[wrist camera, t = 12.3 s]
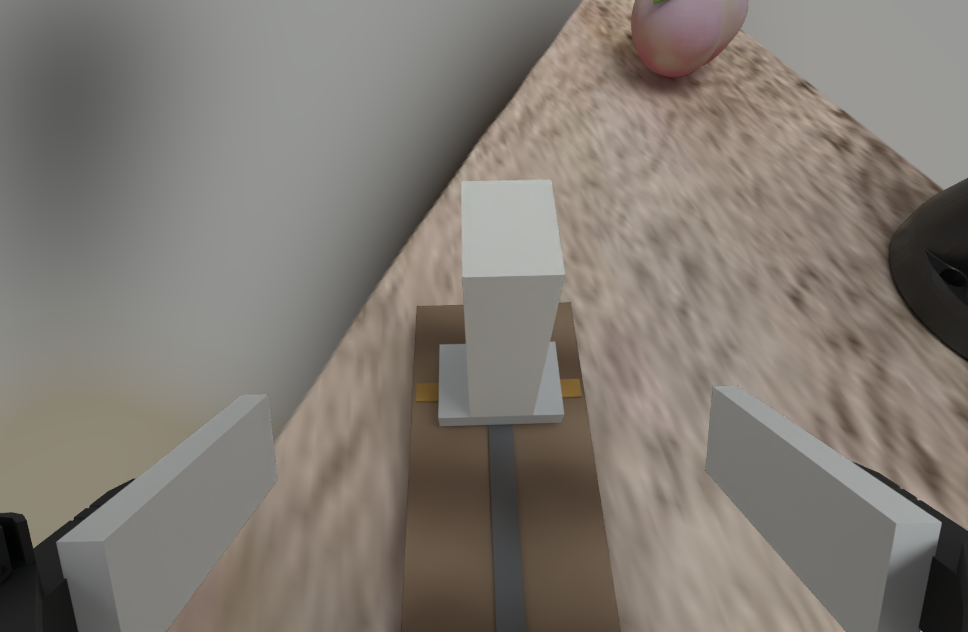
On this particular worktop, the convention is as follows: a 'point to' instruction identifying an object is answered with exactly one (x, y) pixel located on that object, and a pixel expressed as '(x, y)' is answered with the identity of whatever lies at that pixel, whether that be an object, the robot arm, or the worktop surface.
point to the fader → (506, 309)
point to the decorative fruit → (684, 32)
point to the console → (503, 508)
